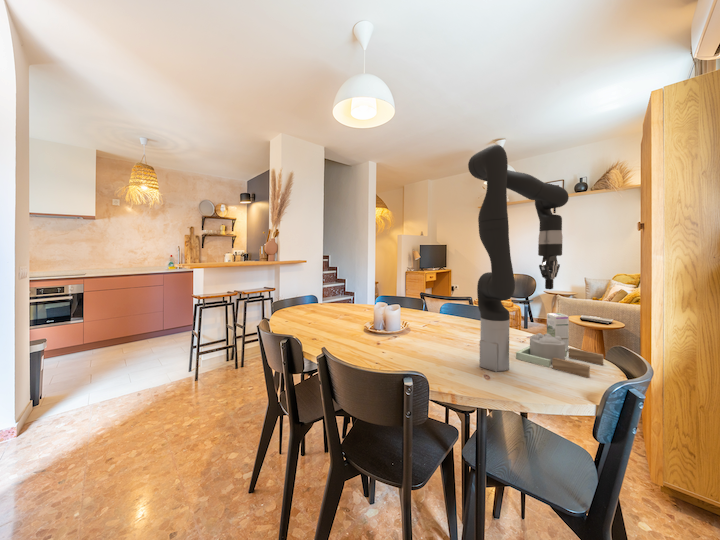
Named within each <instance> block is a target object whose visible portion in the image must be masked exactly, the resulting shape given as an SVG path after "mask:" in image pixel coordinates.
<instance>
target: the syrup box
mask: <svg viewBox="0 0 720 540" xmlns="http://www.w3.org/2000/svg"><path fill="white" fill-rule="evenodd" d="M569 329H570V315H567V314H564V313H561V312H560V313H559V312H549V313H546V334H550V335H551V336H552V337H555V336H559V337H561V339H562V341H563V342H564V343H565V350H567V352H569V348H570V346H569V345H570V340H569V339H570V336H569V334H570V332H569ZM568 346H569V347H568Z"/></svg>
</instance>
